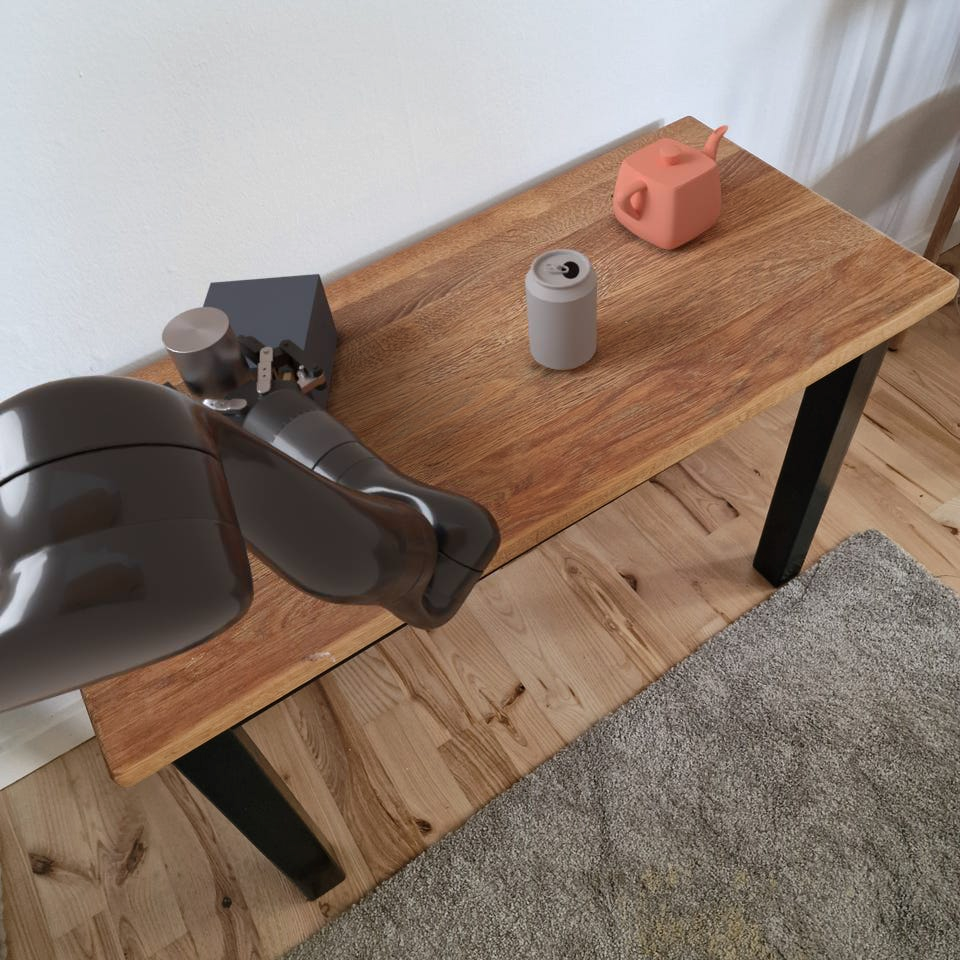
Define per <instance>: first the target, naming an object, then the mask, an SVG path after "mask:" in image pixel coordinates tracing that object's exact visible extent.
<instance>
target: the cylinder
mask: <svg viewBox="0 0 960 960" xmlns="http://www.w3.org/2000/svg"><path fill="white" fill-rule="evenodd" d="M161 342H162V344H163V346H164V347H165V350H166V352H167V354H168V355H169V358H170V359H171V361H172V363H173V365H174V367H175V368H176V371H177V372H178V374H179V376H180V378H181V380H182V381H183V383H184V385H185V387H186V389H187V391H188V393H189V396H190V397H191V398H193V399H195V400H197V401H199V402H203V400H204V399H218V400H224V399H223V398H224V397H225V396H227V395H228V394H230V393H232V392H234V391H237V390H239V389H240V388H241V387H242V386H243V385H244V384H245V383H246V382H248V381H249V380H251V379H252V380H253V381H254V380H255V378H254V376H253V374H252V371H251V369H250V367H249V365H248V362H247V360H246V358H245V355H244V353H243V351H242V349H241V346H240V344H239V342H238V339H237V337H236V335H235V333H234V330H233V328H232V326H231V323H230V321H229V319H228V317H227V315H226V314H225V313H224V312H223V311H221V310H219V309H217V308H212V307H203V306H199V307H194V308H190V309H187V310H186V311H183V312H181V313H179V314H177V315H176V316H174V317H173V318H172V319H170V320H169V321H168V322H167V324H166V325H165V326H164V328H163V330H162V333H161Z"/></svg>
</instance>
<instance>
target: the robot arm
mask: <svg viewBox="0 0 960 960" xmlns="http://www.w3.org/2000/svg"><path fill="white" fill-rule="evenodd" d="M237 339H238V342H239V344H240V346H241V349H242V351H243V353H244V355H245V357H247V358H248V359H249V360H250V361H252V362H253V363H254V364H256V365H257V366H258V379H257V380H254V381H253V380H252V379H251V380H249V381H248V382H246V383H245V384H244V385H243V386H242V387H241V388H240V389H239V390H237V391H234V392H232V393H230V394H228V395H227V396H225V397H224V398H223V399H224V400H218V399H204V400H203V402H199V401H197V400H195V399H193V398H192V397H191V396H190V395H188V394H186V393H184V392H181V391H180V390H179V389H178V388H176V387H175V386H174V385H173V384H172V383H171V382H169V381H168V380H167V381H165V382H164V383H162V384H160V383H157V382H153V381H149V380H146V379H145V380H144V379H140V378H137V377H132V376H121V375H120V376H119V375H108V374H95V375H79V376H78V375H77V376H72V377H71V376H70V377H65V378H61V379H56V380H51V381H47V382H44V383H40V384H37V385H35V386H32V387H29V388H26V389H25V390H22V391H21V392H18V393H16V394H14V395H13V396H10V397H8V398H7V399H4V400H3V401H1V402H0V715H3V714H6V713H8V712H12V711H15V710H18V709H22V708H25V707H28V706H31V705H34V704H37V703H40V702H43V701H47V700H49V699H52V698H57V697H59V696H62V695H66V694H69V693H71V692H75V691H78V690H81V689H84V688H87V687H90V686H94V685H96V684H100V683H103V682H106V681H110V680H112V679H115V678H119V677H122V676H125V675H127V674H130V673H134V672H137V671H139V670H142V669H146V668H148V667H151V666H154V665H157V664H160V663H162V662H166V661H168V660H171V659H173V658H175V657H179V656H181V655H184V654H186V653H188V652H190V651H193V650H194V649H197V648H199V647H201V646H203V645H205V644H208V643H209V642H211V641H213V640H215V639H217V638H218V637H220V636H222V635H223V634H225V633H226V632H227V631H229V630H230V629H231V628H233V627H234V626H235V625H236V624H237V623H239V622H240V621H241V620H242V619H243V618H244V617H245V616H246V614H247V613H248V612H249V610H250V609H251V607H252V604H253V602H254V599H255V598H254V596H255V587H254V586H255V585H254V578H253V573H252V572H253V571H252V567H251V563H250V560H249V556H248V552H249V553H250V554H251V555H253V556H254V557H255V558H256V559H257V560H258V561H259V562H261V563H262V565H264V566H265V567H267V568H268V569H269V570H270V571H271V572H272V573H274V574H275V575H277V576H278V577H279V578H280V579H281V580H283V581H284V582H285V583H287V584H289V585H290V586H292V587H293V588H295V589H297V590H298V591H299V592H301V593H303V594H304V595H307V596H309V597H311V598H313V599H316V600H318V601H321V602H324V603H327V604H334V605H341V606H362V607H363V606H365V607H366V606H369V607H374V606H376V607H380V608H383V609H384V610H387V611H388V612H389V613H390V614H392V615H393V616H394V617H395V618H397V619H398V620H399V621H401V622H403V623H405V624H406V625H409V626H410V627H413V628H415V629H418V630H422V631H432V630H436V629H439V628H441V627H442V626H445V625H446V624H447V623H449V622H450V621H451V620H452V619H453V618H454V617H455V616H456V614H457V613H458V612H459V610H460V609H461V607H462V606H463V605H464V603H465V602H466V600H467V599H468V597H469V595H470V594H471V592H472V591H473V589H474V588H475V586H476V585H477V584H478V583H479V581H480V579H481V578H482V576H483V575H484V573H485V571H486V570H487V568H488V567H489V566H490V564H491V563H492V561H493V560H494V558H495V556H496V555H497V553H498V551H499V549H500V547H501V542H502V539H501V538H502V534H501V530H500V526H499V524H498V522H497V520H496V519H495V516H494V515H493V513H492V512H491V511H490V510H489V509H488V508H487V507H486V506H484V505H483V504H482V503H480V502H478V501H476V500H475V499H473V498H471V497H468V496H466V495H464V494H460V493H457V492H455V491H451V490H448V489H445V488H441V487H439V486H435V485H432V484H429V483H427V482H424V481H422V480H419V479H417V478H414V477H413V476H410V475H408V474H407V473H405V472H403V471H401V470H399V469H398V468H397V467H396V466H394V465H393V464H392V463H390V462H388V461H387V460H386V459H385V458H383V457H382V456H380V455H379V454H378V452H377V453H376V451H374V450H373V449H371V447H369V446H368V445H366V444H365V443H364V441H362V440H361V439H360V438H359V436H358V435H357V434H356V433H355V432H354V431H353V430H352V429H351V428H349V427H348V426H347V425H345V424H344V423H343V422H342V421H340V420H339V419H338V418H336V417H335V416H334V415H333V414H332V413H330V412H329V411H328V410H327V409H326V410H325V409H324V408H322V407H321V406H320V405H318V404H317V403H316V402H315V401H313V400H312V399H311V398H309V397H308V396H307V395H306V393H307V392H309V391H310V390H312V389H313V388H315V389H316V390H318V391H322V390H324V389H326V388H327V386H328V384H327V381H326V378H325V375H324V373H323V370H322V367H321V364H320V363H318V362H317V361H316V360H314V359H313V358H312V357H311V356H309V355H308V354H307V353H306V352H304V351H303V350H302V349H301V348H299V347H298V346H297V345H296V344H294V343H293V342H292V341H291V340H283V341H281V342H280V344H279V347H276V348H271V347H266V346H265V345H264V344H262V343H261V342H260V341H258V340H257V339H256V338H254V337H252V336H247V337H245V336H243V335H242V334H241V335H239V336H237ZM285 365H287V366H288V367H289V368H291V369H292V370H293V371H294V372H296V373H297V376H298V378H299V380H298V382H295V381H292V380H280V367H282V366H285Z"/></svg>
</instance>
